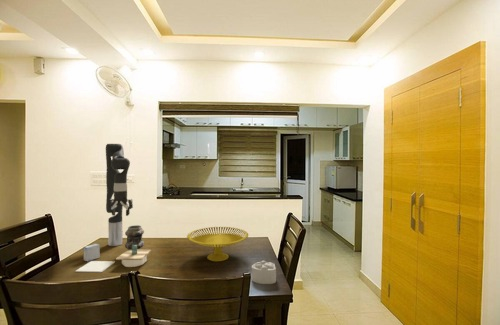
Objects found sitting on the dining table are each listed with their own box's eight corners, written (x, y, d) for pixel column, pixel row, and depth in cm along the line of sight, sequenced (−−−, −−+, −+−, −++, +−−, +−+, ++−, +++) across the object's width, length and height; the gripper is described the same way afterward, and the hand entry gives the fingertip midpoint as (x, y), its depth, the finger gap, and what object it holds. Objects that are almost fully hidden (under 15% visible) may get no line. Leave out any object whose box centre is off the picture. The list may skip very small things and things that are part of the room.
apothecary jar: (147, 250, 183) (147, 224, 183) (138, 256, 171) (138, 229, 171) (131, 249, 184) (131, 224, 184) (121, 255, 172) (120, 228, 172)
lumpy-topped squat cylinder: (276, 284, 136) (276, 267, 135) (251, 284, 135) (251, 267, 135) (274, 275, 146) (274, 259, 146) (251, 274, 146) (251, 259, 146)
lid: (128, 250, 168) (128, 241, 168) (151, 250, 168) (151, 241, 168) (115, 259, 153) (115, 249, 153) (141, 260, 153) (141, 250, 153)
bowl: (129, 258, 167) (129, 251, 167) (149, 259, 167) (149, 251, 167) (118, 267, 154) (118, 258, 154) (140, 267, 154) (140, 259, 154)
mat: (91, 261, 162) (91, 261, 162) (115, 262, 161) (115, 261, 161) (75, 271, 148) (75, 270, 148) (101, 272, 147) (101, 271, 147)
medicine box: (96, 256, 171) (96, 243, 170) (100, 257, 168) (99, 244, 168) (83, 260, 164) (83, 246, 164) (87, 262, 162) (87, 248, 161)
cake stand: (240, 273, 148) (240, 247, 147) (175, 266, 156) (175, 241, 155) (253, 248, 187) (253, 228, 187) (200, 244, 195) (201, 224, 195)
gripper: (134, 189, 167) (134, 214, 168) (112, 188, 167) (112, 213, 168) (129, 191, 159) (129, 217, 160) (105, 190, 159) (105, 216, 160)
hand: (120, 215), depth 164 cm, fingers open, 8 cm apart
